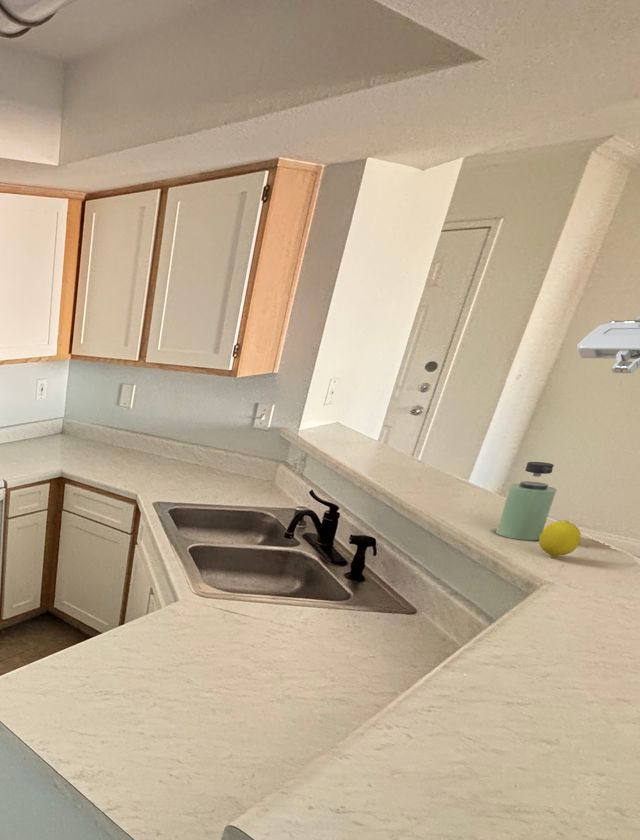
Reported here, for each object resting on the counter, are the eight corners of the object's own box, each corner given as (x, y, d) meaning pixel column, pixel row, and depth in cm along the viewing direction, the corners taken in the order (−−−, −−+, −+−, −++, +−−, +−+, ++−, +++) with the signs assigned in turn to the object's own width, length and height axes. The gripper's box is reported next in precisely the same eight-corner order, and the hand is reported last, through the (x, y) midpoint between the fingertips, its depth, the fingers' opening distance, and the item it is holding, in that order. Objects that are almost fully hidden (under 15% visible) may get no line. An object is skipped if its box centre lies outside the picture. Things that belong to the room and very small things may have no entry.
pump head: (544, 474, 129) (549, 462, 128) (559, 481, 123) (563, 468, 122) (520, 473, 130) (524, 461, 129) (533, 480, 125) (537, 467, 124)
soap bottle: (532, 532, 134) (549, 481, 130) (546, 542, 128) (564, 488, 124) (490, 528, 137) (506, 478, 133) (502, 538, 131) (518, 486, 127)
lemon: (579, 563, 116) (593, 525, 114) (544, 561, 118) (557, 523, 115) (561, 553, 121) (574, 517, 119) (527, 551, 123) (539, 515, 120)
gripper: (599, 311, 130) (554, 359, 131) (742, 306, 111) (689, 362, 112) (605, 331, 132) (562, 378, 133) (746, 330, 114) (694, 384, 114)
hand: (621, 371), depth 122 cm, fingers closed
